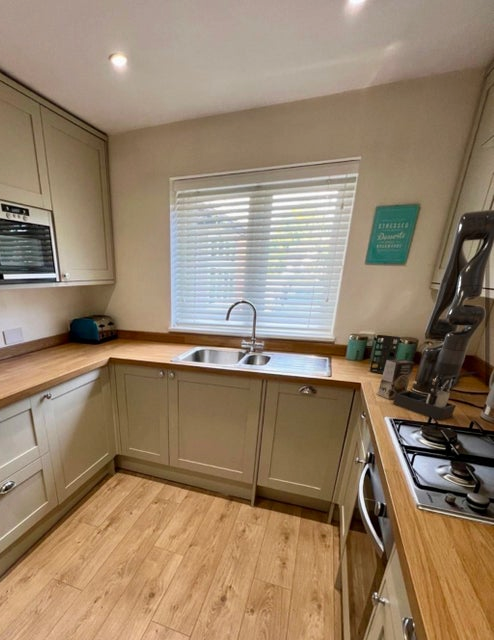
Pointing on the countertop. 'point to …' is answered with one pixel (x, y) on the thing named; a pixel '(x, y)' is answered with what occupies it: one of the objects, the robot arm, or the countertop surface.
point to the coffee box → (395, 377)
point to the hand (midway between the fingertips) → (436, 402)
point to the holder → (384, 352)
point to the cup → (440, 399)
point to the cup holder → (422, 405)
